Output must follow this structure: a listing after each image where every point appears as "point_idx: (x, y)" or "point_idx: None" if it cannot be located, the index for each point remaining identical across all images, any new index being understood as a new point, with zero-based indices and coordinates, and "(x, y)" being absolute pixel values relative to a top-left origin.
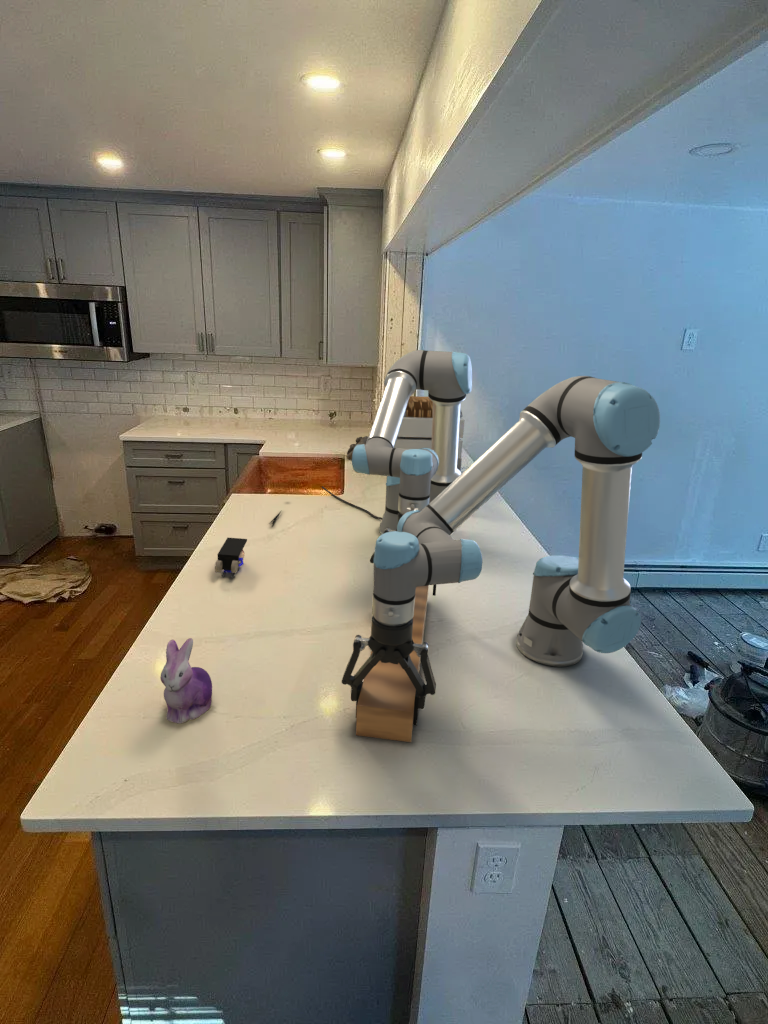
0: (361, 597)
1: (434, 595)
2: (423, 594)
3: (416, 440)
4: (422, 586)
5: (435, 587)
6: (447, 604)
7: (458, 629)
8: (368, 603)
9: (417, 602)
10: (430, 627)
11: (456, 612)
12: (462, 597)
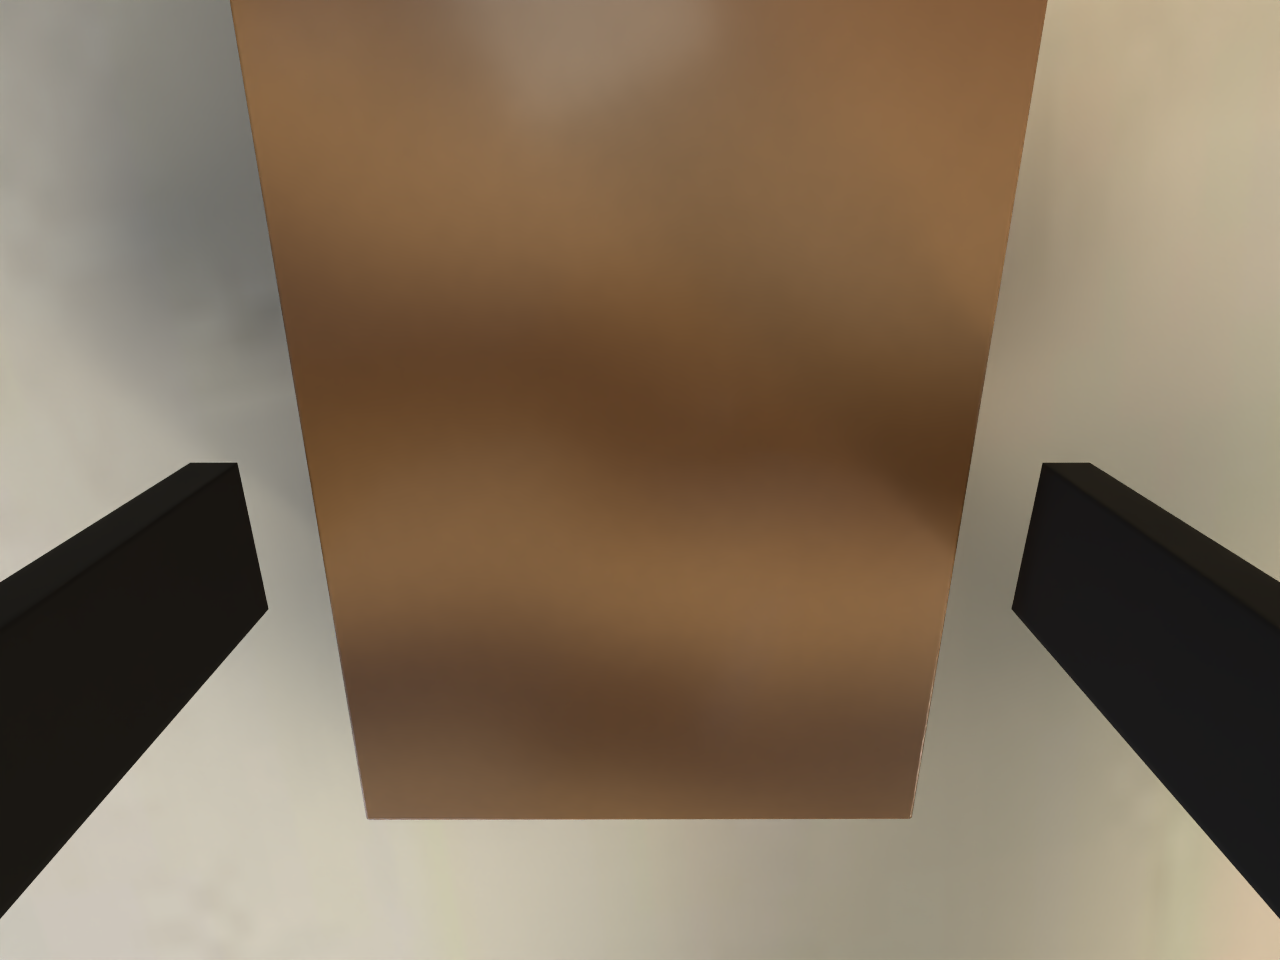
0: None
1: (205, 464)
2: (364, 422)
3: None
4: (428, 665)
5: (103, 522)
6: (258, 652)
7: (18, 174)
8: None
9: (411, 86)
10: None
11: None
12: (152, 790)
